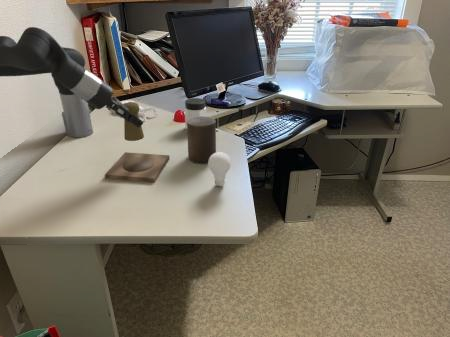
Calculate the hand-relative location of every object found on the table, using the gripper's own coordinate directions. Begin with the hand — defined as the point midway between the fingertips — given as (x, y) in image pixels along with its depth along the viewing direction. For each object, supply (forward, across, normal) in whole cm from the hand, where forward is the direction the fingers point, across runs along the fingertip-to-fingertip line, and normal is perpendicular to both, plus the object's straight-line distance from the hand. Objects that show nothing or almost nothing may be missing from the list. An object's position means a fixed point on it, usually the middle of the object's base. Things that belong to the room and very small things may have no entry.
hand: (138, 122), depth 106 cm
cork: (+2, 0, -5) cm, 5 cm away
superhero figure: (+22, -54, -2) cm, 58 cm away
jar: (+33, -21, +10) cm, 41 cm away
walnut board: (+10, 0, -12) cm, 16 cm away
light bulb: (+22, +24, 0) cm, 32 cm away
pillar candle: (+26, +4, +3) cm, 26 cm away
